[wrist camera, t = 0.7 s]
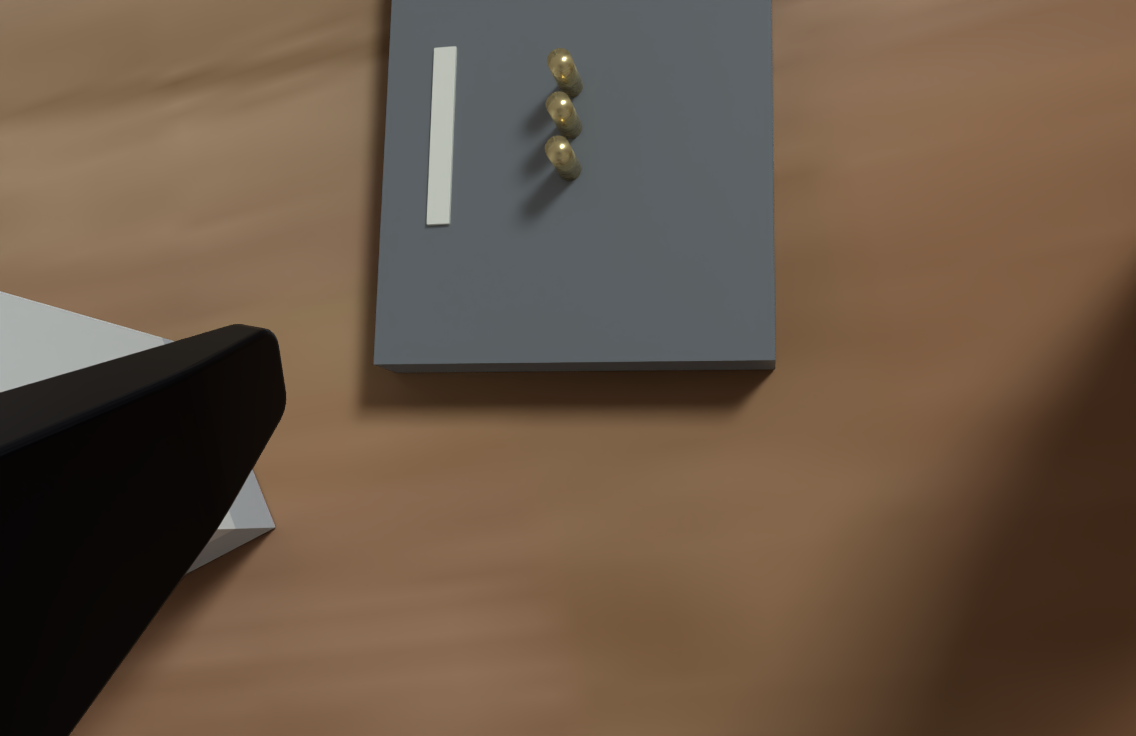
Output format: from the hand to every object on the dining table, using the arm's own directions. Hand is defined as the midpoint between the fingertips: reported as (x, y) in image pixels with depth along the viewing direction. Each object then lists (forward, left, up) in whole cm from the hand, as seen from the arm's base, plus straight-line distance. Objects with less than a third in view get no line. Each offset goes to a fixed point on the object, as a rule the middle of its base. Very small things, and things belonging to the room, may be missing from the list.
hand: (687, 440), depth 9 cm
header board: (+9, +3, -15) cm, 18 cm away
